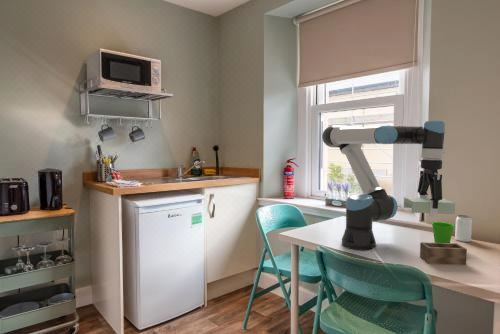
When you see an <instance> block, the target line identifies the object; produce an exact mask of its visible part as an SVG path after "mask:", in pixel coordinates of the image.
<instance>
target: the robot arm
mask: <svg viewBox="0 0 500 334" xmlns="http://www.w3.org/2000/svg"><path fill="white" fill-rule="evenodd" d="M445 126H446V123H445V121H443V120H426V121H424V122H423V125H421V126H415V125H413V126H412V125H411V126H408V125H404V126H403V125H389V124H388V125H380V126H365V127H361V126H360V127H356V126H352V125H330V126H327V127H326V128H325V129H324V130H323V132H322V136H321V138H322V142H323V143H324V144H325V145H326V146H327V147H329V148H339V150H340V152H341V154H342V155H345V156H346V159H347V161H348V163H349V166H350V167H351V170H352V172H353V174H354V176H355V178H356V180H357V183H358V185H359V187H360V190H361V191H362V194H353V195H350V196H348V197H347V199H346V204H345V229H344V232H343V235H342V238H341V245H342V246H343V247H345V248H347V249H352V250H355V251H371V250H373V249H374V248H376V245H377V241H376V238H375V235H374V231H373V223H374V222H379V221H387V220H390V219H393V218H394V217H395V215H396V214H397V212H398V206H399V205H398V202H397V200H396V198H394V196H392V195H391V194H388V193H387V191H386V188H382V187H381V186H380V184H379V182H378V180H377V178H376V175H375V174H374V171H373V169H372V168H371V166H370V163H369V162H368V159H367V158H366V156H365V154H364V152H363V150H362V149H363V148H362V146H363V145H365V144H366V145H371V144H372V145H376V144H377V145H378V144H379V145H399V144H400V145H421V152H420V153H421V155H420V158H421V159H420V168H421V169H423V170H420V172H419V180H418V187H417V193H418V194H419V198H428V196H429V194H428V191H429V189H430V196H431V197H430V198H431V199H430V213H428V214H429V217H438V215H439V214H438V202H439V200H442V198H443V186H442V184H443V183H442V181H443V174H439V171H438V170H441V169H443V160H442V159H443V155H444V153H445V151H444V141H445V133H446V131H445Z"/></svg>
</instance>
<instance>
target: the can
mask: <svg viewBox="0 0 500 334" xmlns="http://www.w3.org/2000/svg"><path fill="white" fill-rule="evenodd" d="M472 226H473V220H472V216H471V215H466V214H458V215H457V217H456V218H455V230H454V232H455V235H454V239H455V240H456V241H458V242H463V243H469V242H471V241H472Z"/></svg>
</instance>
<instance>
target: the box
mask: <svg viewBox="0 0 500 334" xmlns="http://www.w3.org/2000/svg"><path fill="white" fill-rule="evenodd" d="M419 249H420V250H419V258H420V259H422V260H423V261H424V262H425V263H426V264H429V265H456V266H457V265H458V266H467V252H468V248H466V247H464V246H462V245H460V244H458V243H456V242H455V243H454V242H450V243H435V242H428V241H427V242H426V241H425V242H424V241H421V242H420V244H419Z"/></svg>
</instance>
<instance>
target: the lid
mask: <svg viewBox="0 0 500 334" xmlns="http://www.w3.org/2000/svg"><path fill="white" fill-rule="evenodd" d="M431 198H432V197H427V198H420V197H414V196H413V197H412V196H411V197H409V196H404V198H403V208H405V209H411V213H414V214H415V213H416V214H417V213H418V214H419V213H420V214H429V213H430V199H431ZM455 212H456V202H453V200H452V201H451V200H448V199H446V198H444V197H442V200H439V202H438V215H439V214H441V215H455Z"/></svg>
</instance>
